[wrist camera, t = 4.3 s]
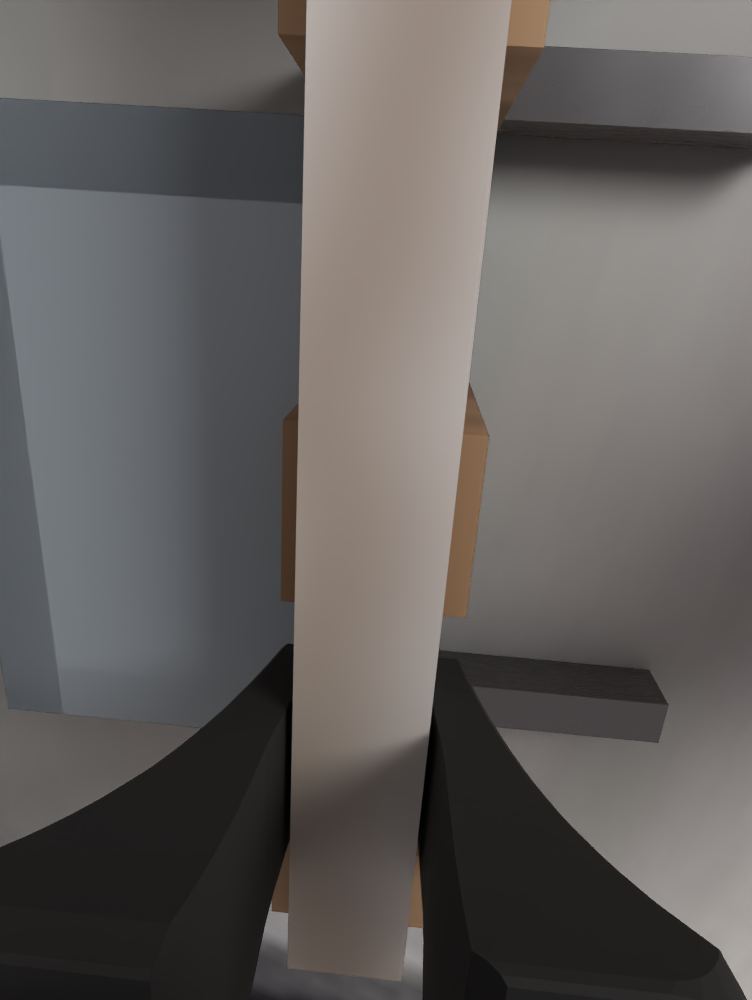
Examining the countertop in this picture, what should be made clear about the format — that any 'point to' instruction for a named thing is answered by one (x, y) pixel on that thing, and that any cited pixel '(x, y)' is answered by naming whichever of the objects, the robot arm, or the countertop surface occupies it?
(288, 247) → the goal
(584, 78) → the rail frame
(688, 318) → the countertop surface
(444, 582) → the tan piece
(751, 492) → the countertop surface
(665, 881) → the countertop surface
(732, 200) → the countertop surface
